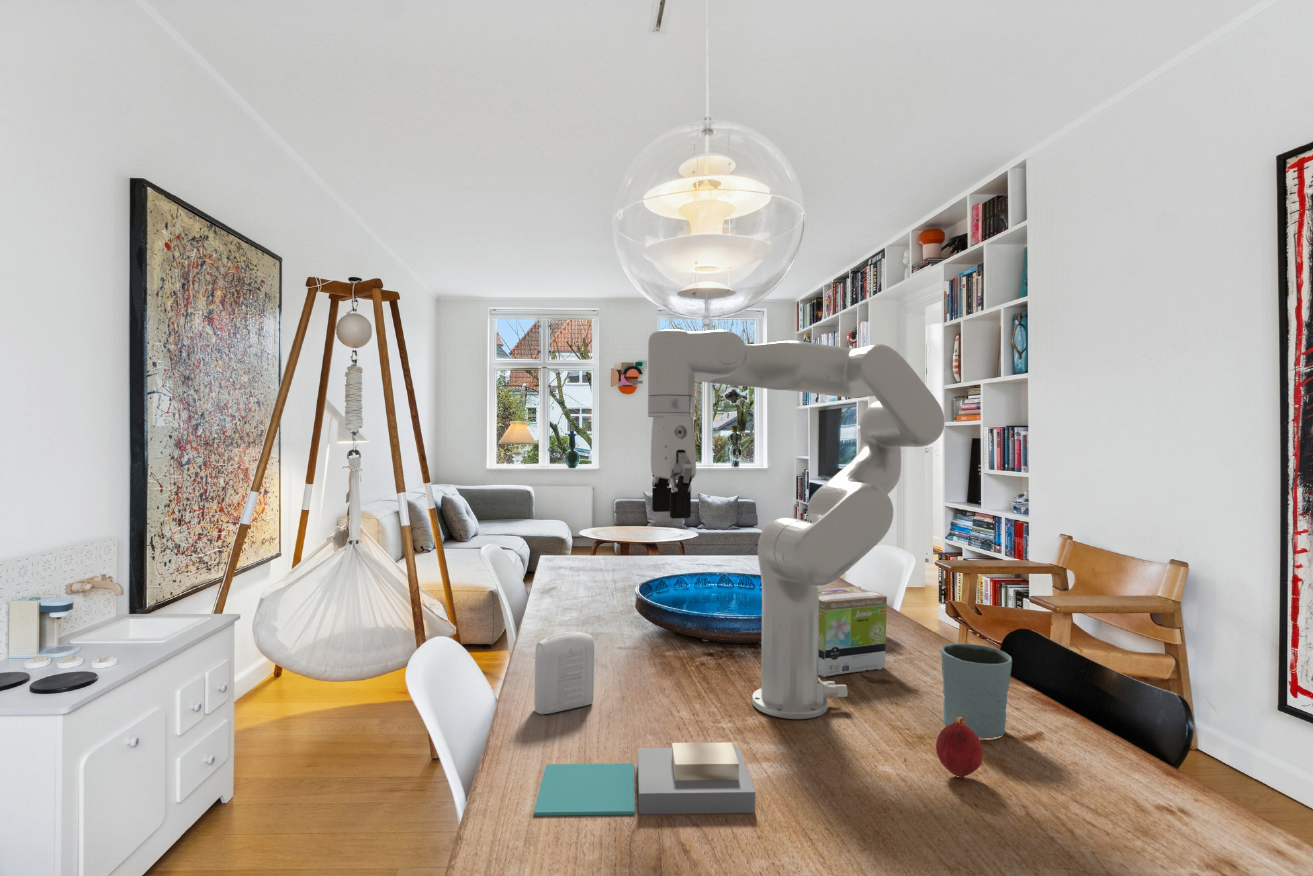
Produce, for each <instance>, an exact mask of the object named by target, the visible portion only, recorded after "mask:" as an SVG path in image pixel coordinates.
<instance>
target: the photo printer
mask: <svg viewBox="0 0 1313 876" xmlns="http://www.w3.org/2000/svg"><path fill="white" fill-rule="evenodd" d="M534 658H535V661H534V663H535V665H534V666H535V667H534V712H535V713H536V714H538V715H546V714H547V715H549V714H554V713H558V712H563V711H567V710H572V709H576V708H582V707H586V706H590V705H592V704H593V703H594V693H595V692H594V685H595V684H594V683H595V682H594V681H595V680H594V679H595V676H594V675H595V642H594V639H593V636H592V635H591V634H588V633H585V632H581V631H565V632H560V633H559V632H558V633H556V634H552V635H550V636H547V637H545V638H543V639H542V640H540V641H538V642H537V643H536V646H535V657H534Z"/></svg>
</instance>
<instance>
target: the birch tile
mask: <svg viewBox="0 0 1313 876" xmlns="http://www.w3.org/2000/svg"><path fill="white" fill-rule="evenodd" d="M734 747H735V746H734V745H733V742H730V741H729V742H724V741H723V742H672V743H671V748H672V762H673V770H674V777H675V780H739V762H738V759H737V756H736V753H735V750H734Z"/></svg>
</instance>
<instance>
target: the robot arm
mask: <svg viewBox="0 0 1313 876" xmlns="http://www.w3.org/2000/svg"><path fill="white" fill-rule="evenodd" d="M647 346H648V349H647V351H648V352H647V353H648V354H647V356H648V359H647V360H648V363H647V365H648V367H647V368H648V369H647V372H648V373H647V396H648V397H647V417H648V418H652V426H651V442H650V470H651V474H652V475H651V476H652V477H653V478H652V482H651V483H652V484H651V486H652V487H651V488H652V490H651V494H652V495H651V496H652V497H651V501H652V502H651V503H652V504H651V507H652V509H651V510H652V512H654V513H665V512H669V517H670V519H690V518H691V513H692V509H691V508H692V507H691V505H692V504H691V503H692V498H691V497H692V485H691V483H692V481H693V479H694V478H695V477H696V475H697V455H696V453H697V452H696V436H695V435H696V434H695V427H694V426H695V425H694V418H695V417H696V414H695V413H696V412H695V409H696V407H695V405H696V403H695V402H696V401H695V400H696V399H695V395H696V392H695V391H696V385H695V384H696V381H699V382H702V383H709V384H718V385H725V386H726V385H727V386H734V387H735V386H736V387H748V388H749V387H750V388H760V389H767V390H775V391H776V390H777V391H788V392H789V391H791V392H799V393H808V394H809V393H810V394H816V395H817V394H818V395H825V396H831V397H832V396H834V397H840V398H842V397H843V398H848V399H849V398H851V399H852V398H853V399H854V398H865V397H875V398H876V400H877V401H874V402H872V403H871V404H870V405H868V406H867V407H866V409H864V411H863V413H862V415H861V418H860V422H859V432H860V434H859V435H860V440H859V441H860V442H859V443H860V444H859V449H858V452H857V454H856V455H855V456H854V457H853V459H852V460H851V461H850V462H849V463H847V464H846V465H845V466H844V467H843V468H842V469H841V470H839V471H838V472H837V473H836V474H835V475H834V476H832V477H830V479H829V480H827V481H826V482H825V483H824V484H822V485H821V486H820V487H819V488H818V489H817V490H816V491H815V492H814V493H813V494H812V495H811V496H810V499H809V501H808V504H807V515H808V518H809V521H806V520H803V519H798V518H793V517H779V518H777V519H775V520H772V521H771V522H769V523H768V524H767V525H766V526H765V527H764V528H763V530H762V531H761V533H760V535H759V537H758V543H757V557H758V565H759V571H760V579H761V666H760V667H761V668H760V670H761V672H760V673H761V681H760V682H761V684H760V686H761V687H760V688H758V689H757V690H755V691H754V692H753V693H752V695H751V703H752V705H753V707H755V709H757V710H758V711H759V712H762V713H764V714H765V715H769V716H772V717H775V718H782V719H789V720H808V719H813V718H816V717H820V716H822V715H824V714H825V713H826V712H827V710H828V706H829V705H828V703H829V702H828V699H829V697H835V698H841V697H843V698H844V697H848V686H847V685H846V684H836V682H835V680H827V681H822V680H821V678H820V677H819V674H818V669H819V595H818V590H819V589H818V586H825V585H828V584H831V583H832V582H834V581H836V580H837V579H839V578H840V577H842V576H843V575H844V574H846V572H848V571H849V570H850V569H851V568H852V567H854V566H855V565H856V564H857V563H858V562H859V561H861V559H863V557H865V556H866V555H867V554H868V553H870V551H871V550H872V549H874V548H875V547H876V546H877V545H878V544H879V543H880V542H881V541H882V540H883V538H885V536H886V535H887V534H888V531H889V530H890V528H891V525H892V523H893V519H894V506H893V505H894V504H893V502H892V500H891V498H890V496H889V494H890V493H891V492H892V490H894V488H895V487H896V486H897V484H898V482H899V480H900V477H901V473H902V472H901V471H902V448H903V447H905V448H907V447H908V448H909V447H911V448H920V447H926V446H930V445H931V444H933V443H935V442H936V441H937V440H938V439H939V438H940V437H941V435H942V434H943V432H944V428H945V415H944V412H943V410H942V406H941V405H940V403H939V402H938V400H937V399H936V397H935V396H934V394H933V393H932V392H931V390H930V389H929V388H928V387H927V386H926V384H925V383H924V381H922V378H920V376H919V375H918V373H917V372H916V371H915V370H914V369H913V367H912V366H911V365H910V364H909V363H908V362H907V361H906V360H905V358H904V357H903V356H901V354H900V353H899V352H897V351H896V350H895V349H893V348H892V347H890V346H889V345H886V344H882V343H881V344H880V343H878V344H871V345H868V346H861V347H859V348H858V347H857V348H850V347H842V346H835V345H830V344H829V345H828V344H827V345H826V344H821V343H815V342H810V341H802V340H784V341H776V342H768V343H759V344H756V343H755V344H749V343H748V344H746V343H745V341H744V340H743V339H742V337H741V336H740V335H738V334H737V333H735V332H733V331H731V330H726V329H714V330H706V331H688V330H684V329H660V330H657V331H656V330H655V331H654V332H652V333H651V334H650V335H649V339H648V345H647ZM670 486H671V487H670ZM823 713H824V714H823Z"/></svg>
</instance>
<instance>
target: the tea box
mask: <svg viewBox="0 0 1313 876" xmlns="http://www.w3.org/2000/svg"><path fill="white" fill-rule="evenodd" d="M858 587H859V586H858ZM858 587H856V586H847V587H831V588H820V589H818V595H819V669H818V676H820V677H823V678H826V677H831V676H836V675H842V674H843V675H844V674H849V673H857V672H867V671H866V670H868V671H875V670H874V669H877V670H880V669H879V668H884V669H885V668H886V647H887V646H886V645H887V616H888V615H887V612H888V611H887V608H888V607H887V606H888V603H887V601H888V597H887V596H886V595H884V594H882V595H880V594H881V593H880V594H877V593H878V592H877V593H874V592H875V591H872V592H871V590H867V589H865V588H858Z"/></svg>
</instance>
